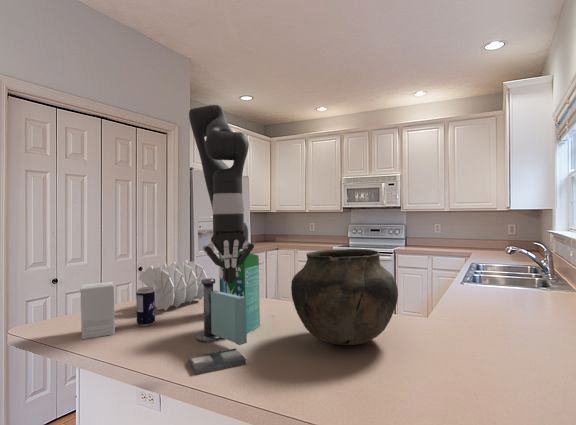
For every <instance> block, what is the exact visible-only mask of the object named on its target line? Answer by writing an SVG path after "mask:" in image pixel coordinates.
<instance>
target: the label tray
mask: <svg viewBox="0 0 576 425" xmlns="http://www.w3.org/2000/svg"><path fill="white" fill-rule="evenodd" d="M187 362H188V364H189V367H190V368H191V369H192V371H193V373H194V374H195V376H196V375H200V374H204V373H211V372H213V371H214V372H215V371H219V370H224V369H228V368H234V367H239V366H243V365H246V364H247V358H246V357H245V356H243V354H242V353H241V352H240V351H239V350H238V349H237V348H231V349H225V350H220V351H213V352H208V353H203V354H198V355H193V356H188V357H187Z"/></svg>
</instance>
